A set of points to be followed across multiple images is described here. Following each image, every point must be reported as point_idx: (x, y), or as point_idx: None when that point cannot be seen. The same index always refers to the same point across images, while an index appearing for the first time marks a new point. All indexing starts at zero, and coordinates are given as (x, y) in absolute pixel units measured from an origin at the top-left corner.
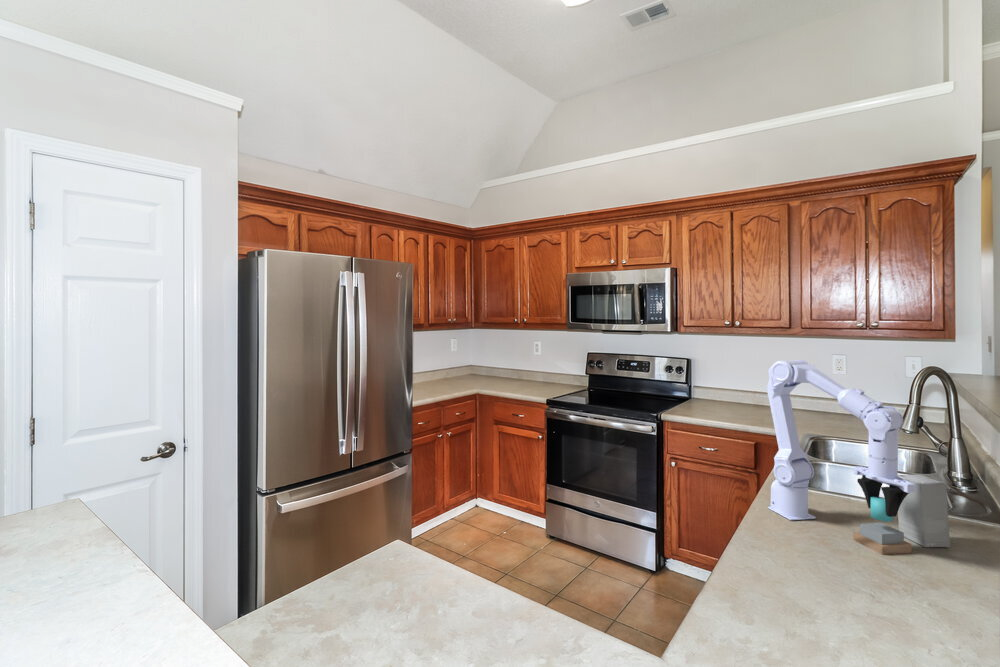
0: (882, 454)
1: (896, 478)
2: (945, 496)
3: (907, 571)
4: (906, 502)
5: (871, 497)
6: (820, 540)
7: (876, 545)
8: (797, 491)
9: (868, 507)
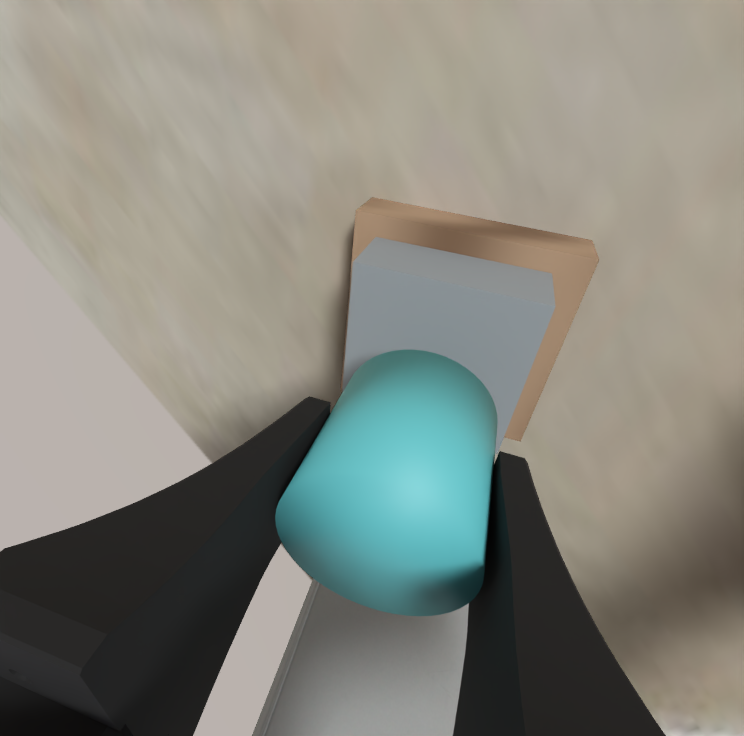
0: None
1: None
2: None
3: (187, 115)
4: (416, 669)
5: (471, 549)
6: None
7: (401, 214)
8: None
9: (524, 462)
